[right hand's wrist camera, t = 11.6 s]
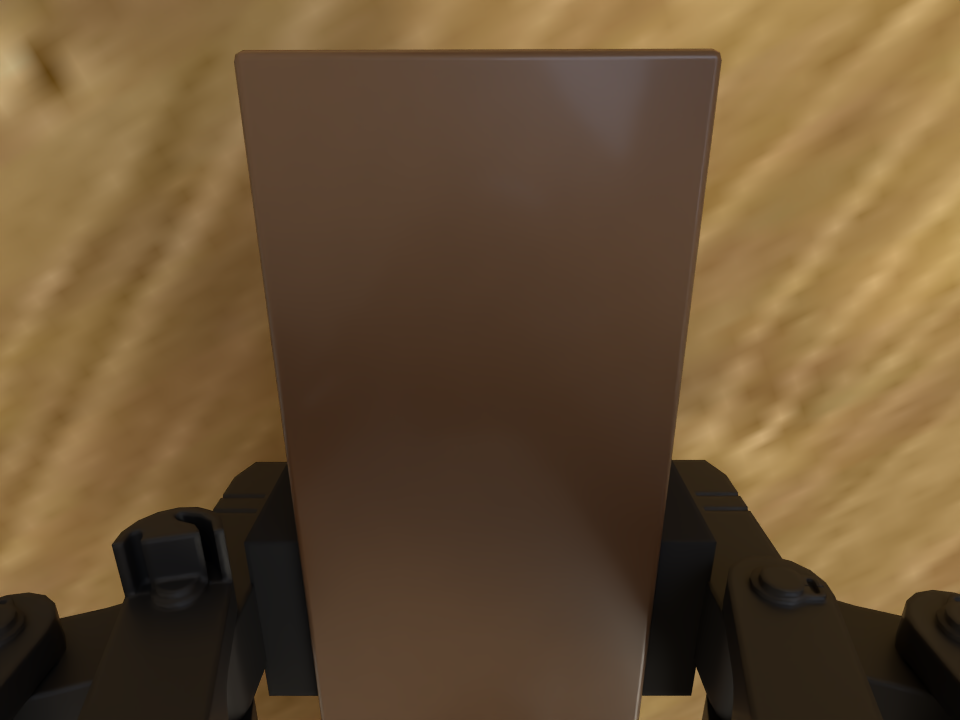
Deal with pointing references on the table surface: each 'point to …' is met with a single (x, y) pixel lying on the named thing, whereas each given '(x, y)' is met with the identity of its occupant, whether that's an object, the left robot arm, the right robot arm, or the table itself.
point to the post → (478, 360)
